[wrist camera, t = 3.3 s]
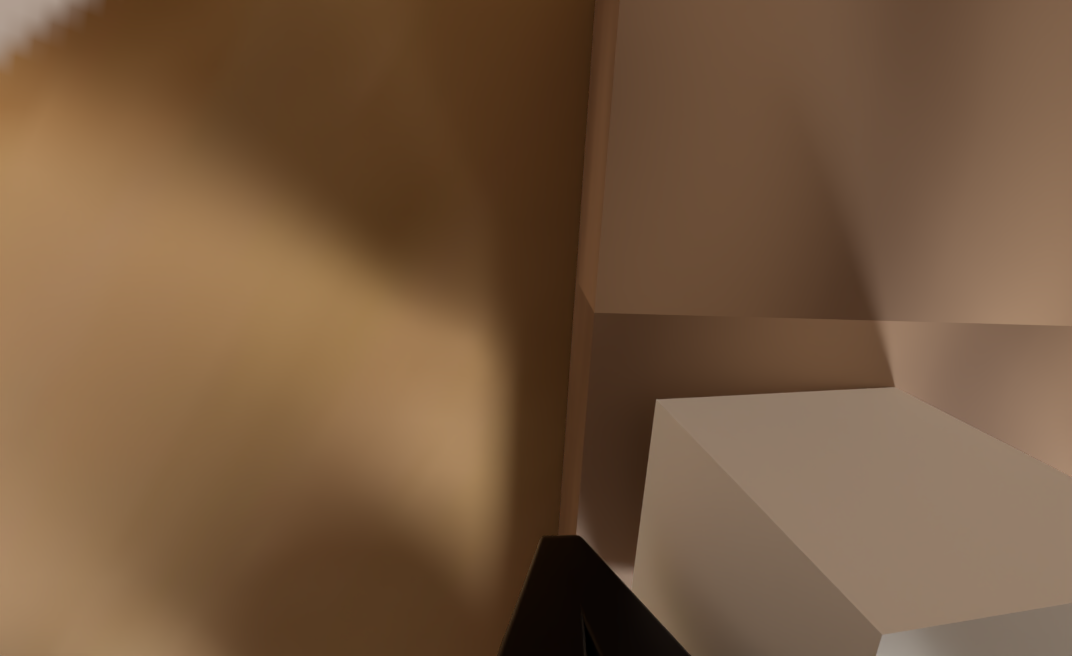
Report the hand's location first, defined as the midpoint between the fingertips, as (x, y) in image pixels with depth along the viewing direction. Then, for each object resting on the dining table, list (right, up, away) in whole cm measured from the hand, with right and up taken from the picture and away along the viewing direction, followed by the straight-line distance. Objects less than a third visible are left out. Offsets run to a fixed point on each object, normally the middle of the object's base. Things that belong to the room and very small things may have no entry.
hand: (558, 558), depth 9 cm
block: (+4, 0, +1) cm, 4 cm away
